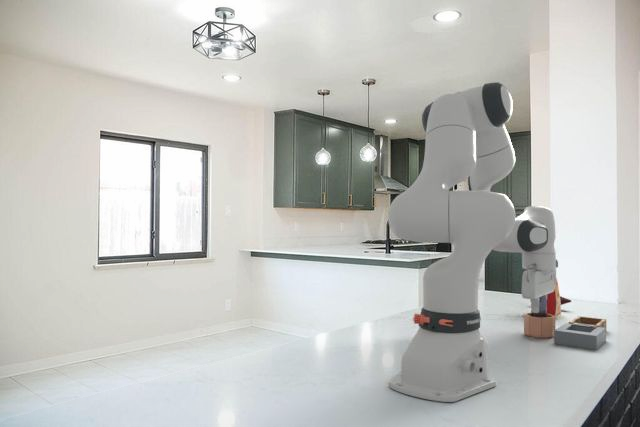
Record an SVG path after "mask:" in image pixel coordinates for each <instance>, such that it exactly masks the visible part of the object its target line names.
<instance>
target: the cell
mask: <svg viewBox="0 0 640 427" xmlns="http://www.w3.org/2000/svg"><path fill="white" fill-rule="evenodd" d="M530 306H531V307H530V308H531V309H530V313H531V316H532V317H541V318H542V317H547V295H544V296H542V297H540V300H539V306H540V312H539V313H533V312H532V305H531V304H530Z"/></svg>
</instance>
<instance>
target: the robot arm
mask: <svg viewBox="0 0 640 427" xmlns="http://www.w3.org/2000/svg"><path fill="white" fill-rule="evenodd" d="M512 115H513V99H512V96H511V93H510V92H509V90H508V89H507V87H506V86H505V85H503V84H502V83H501V82H499V81H497V82H489V83H484V85H482V86H481V85H480V86H475V87H472V88H468V89H465V90H461V91H456V92H454V93H446V94H444V95H443V94H442V95H441V96H439V97H437V98H436V99H435V100H434V101H433V102H431V103H430V104H428V105H427V106H426V107H425V108H424V110H423V111H422V115H421V121H422V123H421V124H422V127H423V130H424V132H425V140H424V141H425V145H424V147H425V148H424V159H423V162H422V163H423V164H422V168H421V171H420V172H419V175H418V176H417V178H416V179H415V181H414V182H413V183H412V184H411V185H410V186H409V187H408V188H407V189H406V190H405V191H403V192H401V193H400V194H398V195H396V197H395V198H394V199H393V200H392V202H391V204H390V206H389V208H388V213H387V219H388V220H387V221H388V226H389V228H390V231H392V233H393V235H394V236H395V237H396V238H397V239H401V240H403V241H404V240H405V241H407V242H415V243H429V244H430V243H434V244H435V243H438V244H440V243H443V244H445V243H446V244H448V243H449V244H452V245H453V247H454V248H453V251H452V253H451V254H449V255H448V256H446V257H443V258H441V259H439V260H436V261H435V262H433V263H431V264H430V265H428V266H427V268H426V269H425V271H424V273H423V277H422V282H423V283H422V286H423V288H422V289H423V290H422V292H423V293H422V294H423V295H422V297H423V300H422V301H423V302H422V303H423V305H422V306H423V307H421V310H420V313H414V314H413V317H412V321H413V323H414V324H415V325H416V324H417V325H418V326H419V327H418V329H417V331H416V333H415V335H414V336H413V338H412V339H411V340H410V343H409V345H408V346H407V347H406V349H405V350H404V352H403V355H402V358H401V363H400V364H401V366H400V371H399V372H398V373H397V374H396V375H395V376H394V377H393V378H391V379H390V380H389V381H388V387H389V388H391V389H392V390H394V391H396V392H398V393H401V394H405V395H407V396H411V397H415V398H420V399H424V400H429V401H433V402H434V401H435V402H442V403H443V402H444V403H445V402H446V403H455V402H457V401H460V400H462V399H466V398H468V397H470V396H473V395H475V394H478V393H481V392H484V391H487V390H489V389H491V388H494V387H496V386H497V384H496V383H497V381H496V380H495V378H493V377H491V376H490V372H489V371H490V369H489V358H488V357H489V356H488V344H487V341H486V340H485V339H484V337H483V336H482V334H481V332H480V328H481V321H482V320H481V317H482V316H481V312H480V310H479V309H478V306H479V305H478V304H479V298H478V296H479V295H478V294H479V281H480V274H481V271H482V267H483V265H484V262H485V261H486V259H487V257H488V256H489V254H490V253H521V264H522V265H521V267H522V269H524V271H523V273H522V277H521V278H522V279H521V297H522V299H528V300H530V306H531V305H532V312H533V313H539V312H540V306H539V300H540V297H542V296H544V295H547V294H549V293H551V292H554V290H555V284H556V278H557V268H559V261H558V259H556V252H557V251H556V248H555V240H556V222H555V216H554V212H553V211H552V209H550V208H549V207H545V206H538V205H531V206H527V207H525V208H524V210H523V213H521V214H520V215H518V216H517V214H516V210H515V207H514V204H513V203H512V201H511V199H510V198H509V197H508V196H507V195H506V194H504V193H499V192H494V191H491V188H492V187H493V185H496V184H497V183H499V182H500V181H502V180H503V179H505V178H506V177H507V176H508V175H509V174H510V173H511V172H512V170H513V169H514V167H515V163H516V156H515V154H516V153H515V149H514V148H513V145H512V144H513V143H512V142H511V138H510V135H509V133H508V131H507V129H506V123H508V122H509V121H510V119H511V118H512ZM466 180H467V186H468V187H467V188H468V190H451V188H453V187H454V186H456V185H458V184H461V183H463V182H465V181H466Z"/></svg>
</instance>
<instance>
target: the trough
mask: <svg viewBox="0 0 640 427" xmlns="http://www.w3.org/2000/svg"><path fill="white" fill-rule="evenodd" d="M568 323H569V324H573V323H577V324H585V325H594V326H597V327H602V328H606V329H607V319H606V318H597V317H590V316H589V317H588V316H578V315H577V317H575V318H572V319H571V320H570V321H569V322H568Z"/></svg>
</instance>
